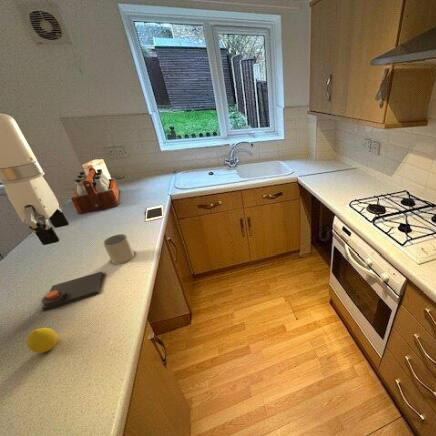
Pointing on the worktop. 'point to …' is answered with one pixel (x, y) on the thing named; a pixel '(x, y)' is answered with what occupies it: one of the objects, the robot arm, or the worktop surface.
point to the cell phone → (154, 213)
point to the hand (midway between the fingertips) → (57, 234)
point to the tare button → (52, 295)
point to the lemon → (42, 340)
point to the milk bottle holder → (95, 191)
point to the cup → (118, 248)
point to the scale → (74, 290)
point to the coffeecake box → (96, 167)
